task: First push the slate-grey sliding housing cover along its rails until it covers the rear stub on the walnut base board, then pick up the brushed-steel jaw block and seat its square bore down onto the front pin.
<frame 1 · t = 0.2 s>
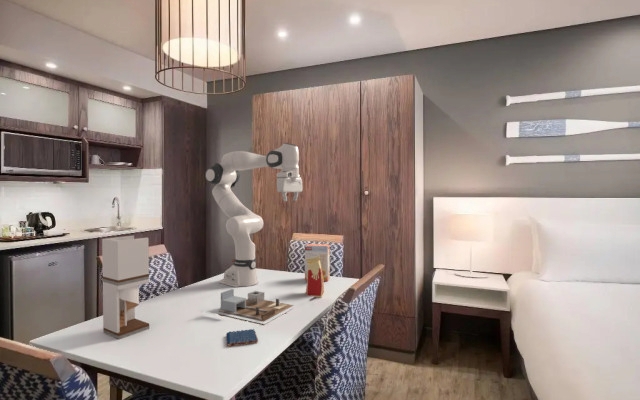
hand: (290, 200, 183), 48 cm above the table, tool pointing down, fingers open, 8 cm apart
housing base: (256, 311, 153), on the table
coffee grinder: (126, 331, 131), on the table
cracker box: (317, 279, 208), on the table
jaw block: (256, 301, 162), point 1 cm above the table, touching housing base
cover: (233, 300, 151), point 5 cm above the table, slide at 0.0 cm
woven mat: (241, 341, 125), on the table
milk carton: (314, 295, 178), on the table
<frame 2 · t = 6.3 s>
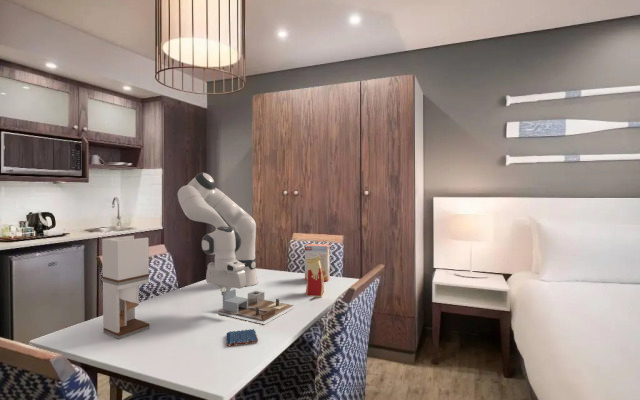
hand: (225, 295, 153), 7 cm above the table, tool pointing down, fingers closed
cover: (235, 300, 150), point 5 cm above the table, slide at 1.2 cm, touching gripper
everything else where it was.
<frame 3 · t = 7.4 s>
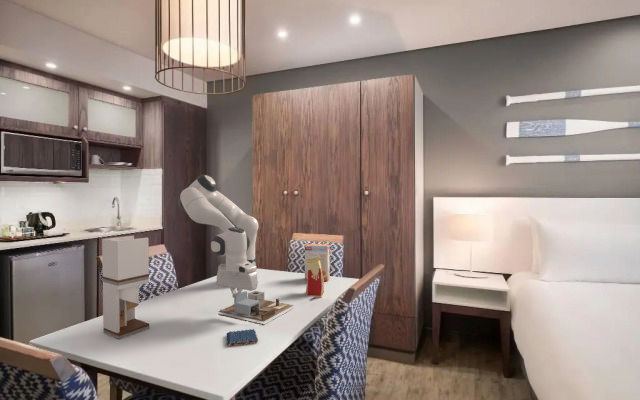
hand: (236, 297, 150), 7 cm above the table, tool pointing down, fingers closed
cover: (247, 303, 147), point 5 cm above the table, slide at 7.6 cm, touching gripper
everything else where it was.
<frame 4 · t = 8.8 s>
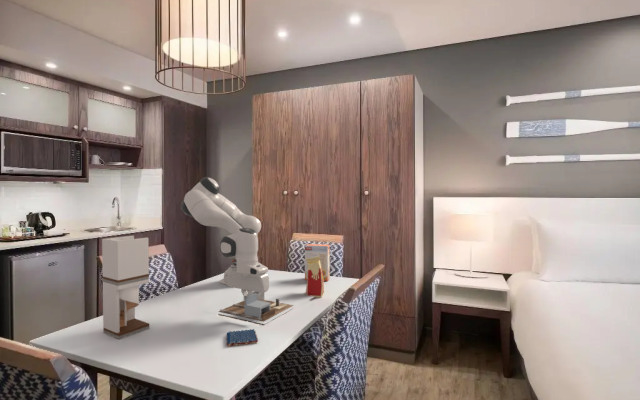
hand: (247, 299, 147), 7 cm above the table, tool pointing down, fingers closed
cover: (257, 305, 145), point 5 cm above the table, slide at 13.1 cm, touching gripper
everything else where it was.
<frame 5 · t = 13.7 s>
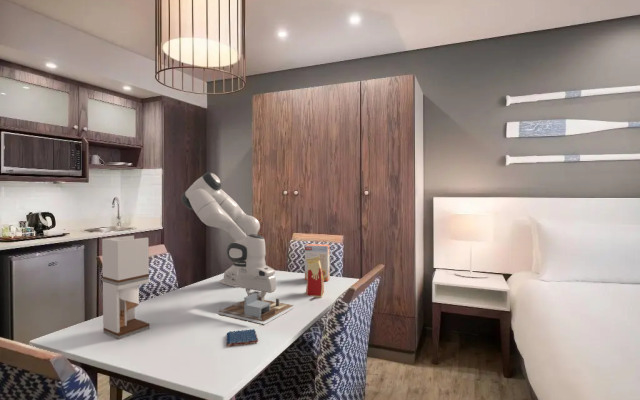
hand: (256, 299, 162), 3 cm above the table, tool pointing down, fingers closed on jaw block, 5 cm apart
jaw block: (256, 301, 162), point 2 cm above the table, touching gripper, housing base
cover: (257, 305, 145), point 5 cm above the table, slide at 13.0 cm
everything else where it was.
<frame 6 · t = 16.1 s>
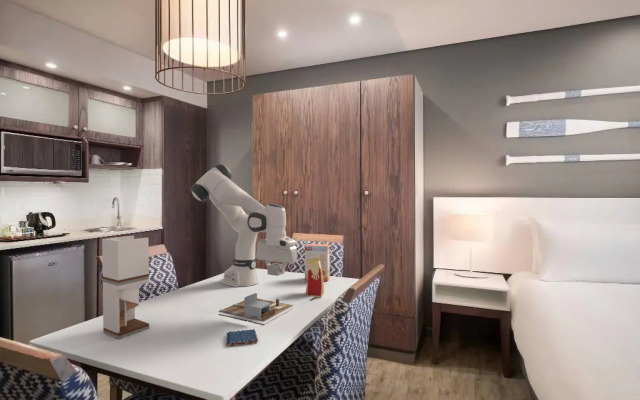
hand: (276, 271, 155), 17 cm above the table, tool pointing down, fingers closed on jaw block, 5 cm apart
jaw block: (276, 273, 155), point 16 cm above the table, touching gripper
everything else where it was.
when the fingers open (4 cm above the table, at t = 18.4 s): jaw block drops 1 cm, resting on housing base.
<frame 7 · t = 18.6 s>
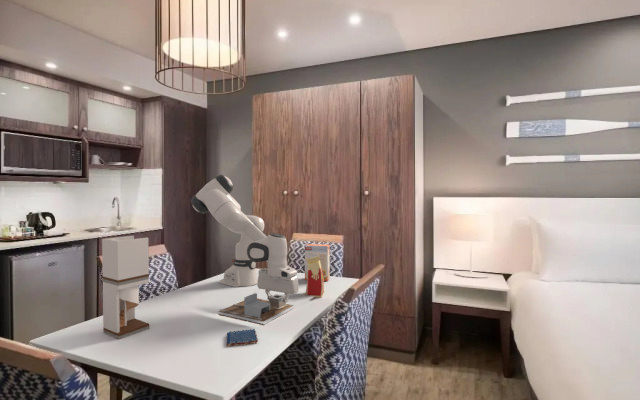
hand: (277, 300, 156), 4 cm above the table, tool pointing down, fingers open, 7 cm apart
jaw block: (277, 305, 156), point 2 cm above the table, touching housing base
everything else where it was.
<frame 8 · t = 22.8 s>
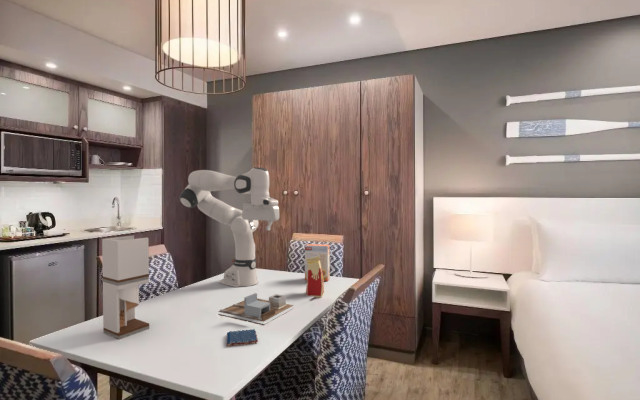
hand: (260, 229, 168), 34 cm above the table, tool pointing down, fingers open, 8 cm apart
nothing on the table moved.
at the end: cover slide at 13.0 cm; jaw block 0.1 cm from the target spot, point 1.6 cm above the table; the gripper is holding nothing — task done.
